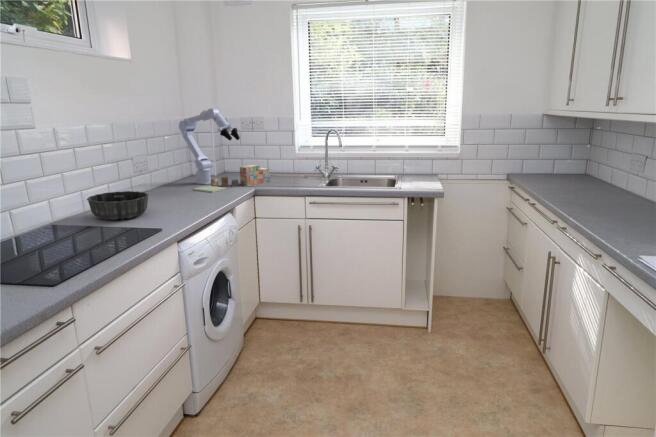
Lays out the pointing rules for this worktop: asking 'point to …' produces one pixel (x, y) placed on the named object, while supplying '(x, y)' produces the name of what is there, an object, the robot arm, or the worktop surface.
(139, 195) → the bundt pan
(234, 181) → the charcoal cube
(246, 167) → the stack of blocks
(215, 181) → the oak cylinder
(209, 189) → the sage board
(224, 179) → the walnut block
